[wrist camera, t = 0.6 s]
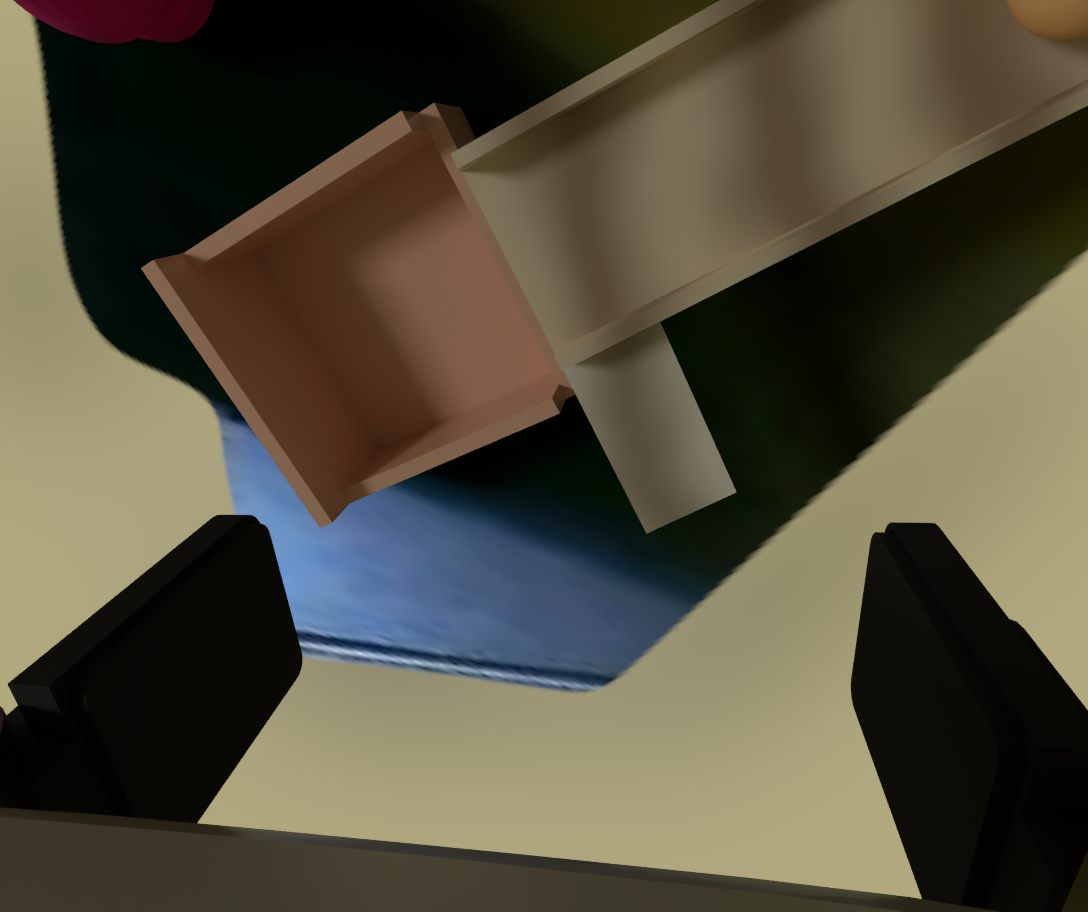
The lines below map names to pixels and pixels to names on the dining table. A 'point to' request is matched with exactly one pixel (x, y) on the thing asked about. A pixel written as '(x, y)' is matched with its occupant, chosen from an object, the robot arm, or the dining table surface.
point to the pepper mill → (123, 18)
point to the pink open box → (368, 317)
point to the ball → (1052, 17)
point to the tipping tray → (737, 183)
